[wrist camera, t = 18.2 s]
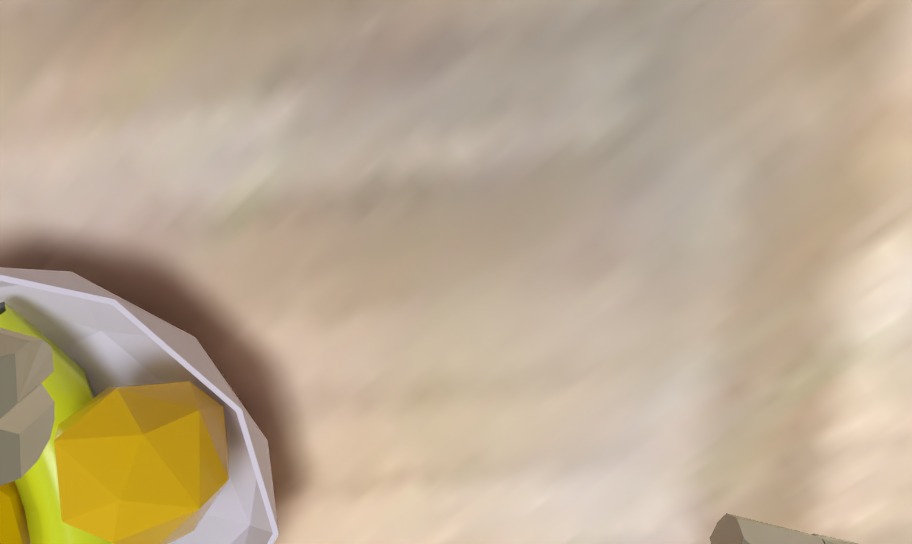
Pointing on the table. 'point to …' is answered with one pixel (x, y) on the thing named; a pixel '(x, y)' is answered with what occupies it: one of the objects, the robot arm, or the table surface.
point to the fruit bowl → (131, 429)
